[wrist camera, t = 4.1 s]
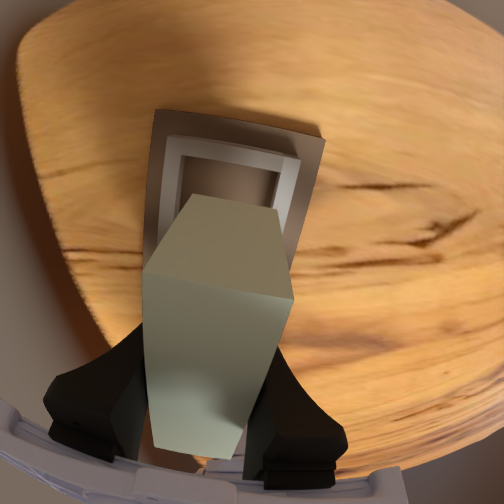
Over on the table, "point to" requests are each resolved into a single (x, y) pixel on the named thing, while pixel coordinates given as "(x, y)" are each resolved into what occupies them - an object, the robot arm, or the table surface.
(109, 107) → the table surface
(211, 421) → the pale green block
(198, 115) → the plate
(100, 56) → the table surface
